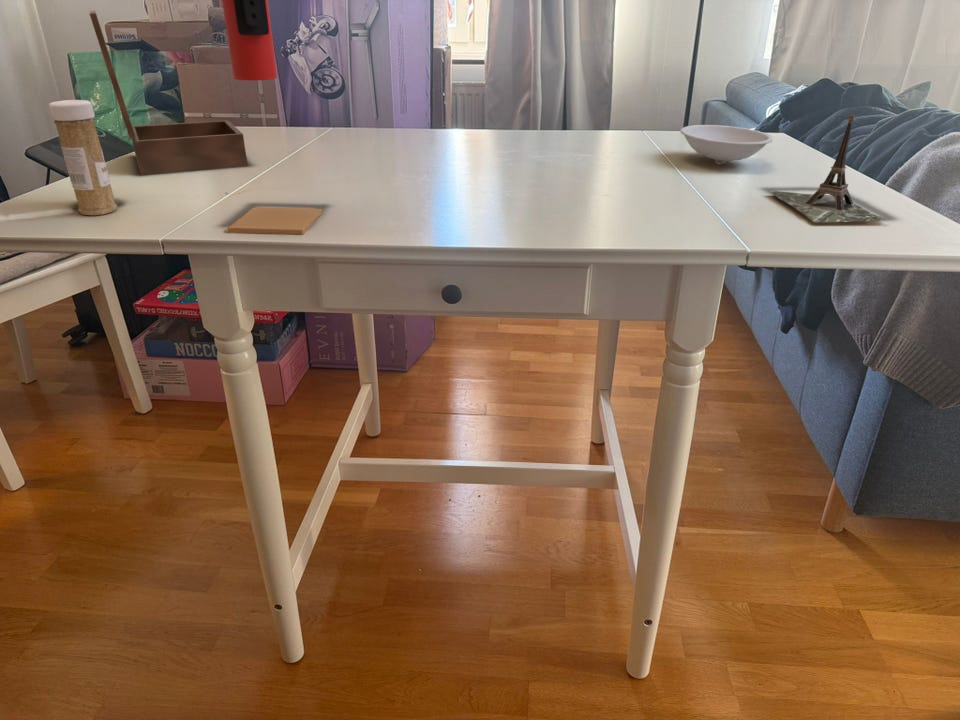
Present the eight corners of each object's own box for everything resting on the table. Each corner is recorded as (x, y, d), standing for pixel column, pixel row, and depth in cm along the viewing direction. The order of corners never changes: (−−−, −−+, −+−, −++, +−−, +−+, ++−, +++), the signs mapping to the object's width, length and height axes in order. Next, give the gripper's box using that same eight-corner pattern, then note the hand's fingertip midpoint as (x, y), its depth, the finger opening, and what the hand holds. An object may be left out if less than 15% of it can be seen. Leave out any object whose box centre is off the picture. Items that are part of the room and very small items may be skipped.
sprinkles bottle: (124, 210, 88) (98, 101, 81) (90, 218, 84) (59, 105, 78) (106, 204, 90) (79, 97, 84) (71, 212, 87) (40, 101, 80)
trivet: (228, 232, 80) (227, 227, 80) (254, 211, 88) (254, 206, 88) (303, 234, 80) (302, 229, 79) (322, 213, 88) (322, 208, 87)
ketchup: (237, 81, 74) (222, -24, 69) (230, 76, 78) (215, -23, 73) (281, 79, 76) (269, -23, 71) (272, 75, 80) (260, -22, 75)
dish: (662, 153, 124) (666, 125, 122) (735, 152, 126) (740, 124, 124) (702, 175, 109) (707, 143, 106) (785, 174, 111) (792, 142, 108)
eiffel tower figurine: (764, 194, 98) (785, 97, 92) (832, 194, 99) (857, 98, 93) (813, 225, 85) (842, 114, 79) (891, 225, 86) (925, 115, 79)
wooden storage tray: (233, 154, 119) (228, 120, 116) (248, 171, 108) (243, 134, 105) (137, 162, 113) (128, 126, 110) (142, 181, 101) (133, 141, 99)
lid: (95, 10, 102) (89, 11, 101) (95, 12, 90) (89, 13, 90) (130, 122, 110) (125, 123, 110) (135, 137, 99) (129, 138, 98)
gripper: (171, -161, 71) (203, 30, 80) (190, -197, 58) (226, 38, 66) (244, -154, 74) (267, 30, 83) (278, -186, 61) (301, 37, 70)
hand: (248, 31), depth 75 cm, fingers closed on ketchup, 4 cm apart
